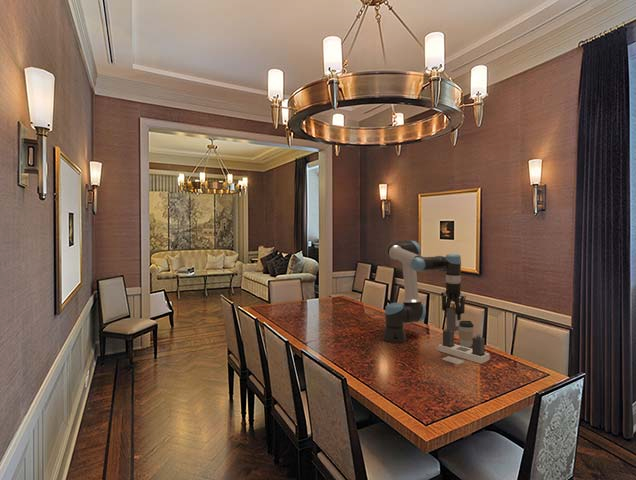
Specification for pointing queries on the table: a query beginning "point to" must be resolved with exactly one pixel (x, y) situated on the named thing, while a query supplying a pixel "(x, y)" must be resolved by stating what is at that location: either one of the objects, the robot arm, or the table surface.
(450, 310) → the plug
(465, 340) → the coffee cup
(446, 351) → the strip
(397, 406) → the table surface
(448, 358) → the mat
